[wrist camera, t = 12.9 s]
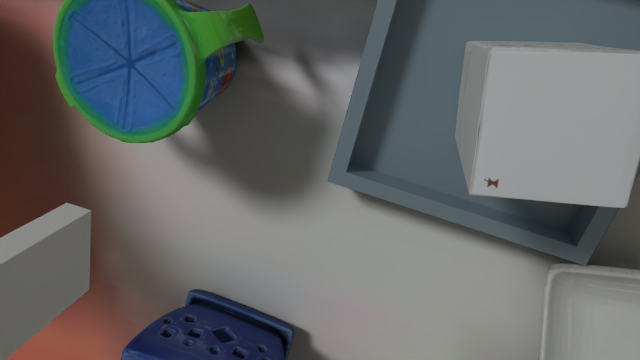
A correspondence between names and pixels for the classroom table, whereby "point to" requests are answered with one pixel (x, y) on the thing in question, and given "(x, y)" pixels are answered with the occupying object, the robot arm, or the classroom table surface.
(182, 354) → the flower pot
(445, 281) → the classroom table surface
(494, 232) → the tray
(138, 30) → the snack cup
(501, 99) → the supplement box
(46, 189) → the classroom table surface
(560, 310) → the square plate
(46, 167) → the classroom table surface
